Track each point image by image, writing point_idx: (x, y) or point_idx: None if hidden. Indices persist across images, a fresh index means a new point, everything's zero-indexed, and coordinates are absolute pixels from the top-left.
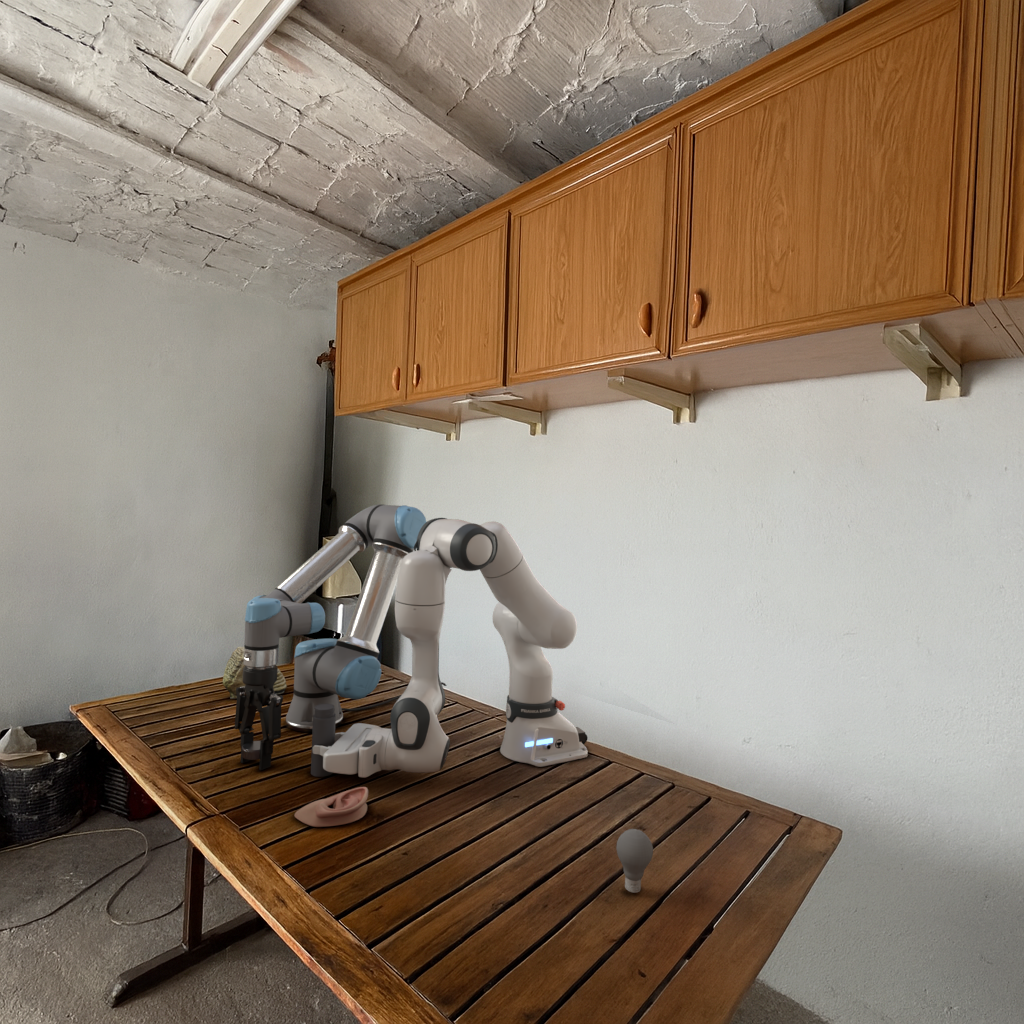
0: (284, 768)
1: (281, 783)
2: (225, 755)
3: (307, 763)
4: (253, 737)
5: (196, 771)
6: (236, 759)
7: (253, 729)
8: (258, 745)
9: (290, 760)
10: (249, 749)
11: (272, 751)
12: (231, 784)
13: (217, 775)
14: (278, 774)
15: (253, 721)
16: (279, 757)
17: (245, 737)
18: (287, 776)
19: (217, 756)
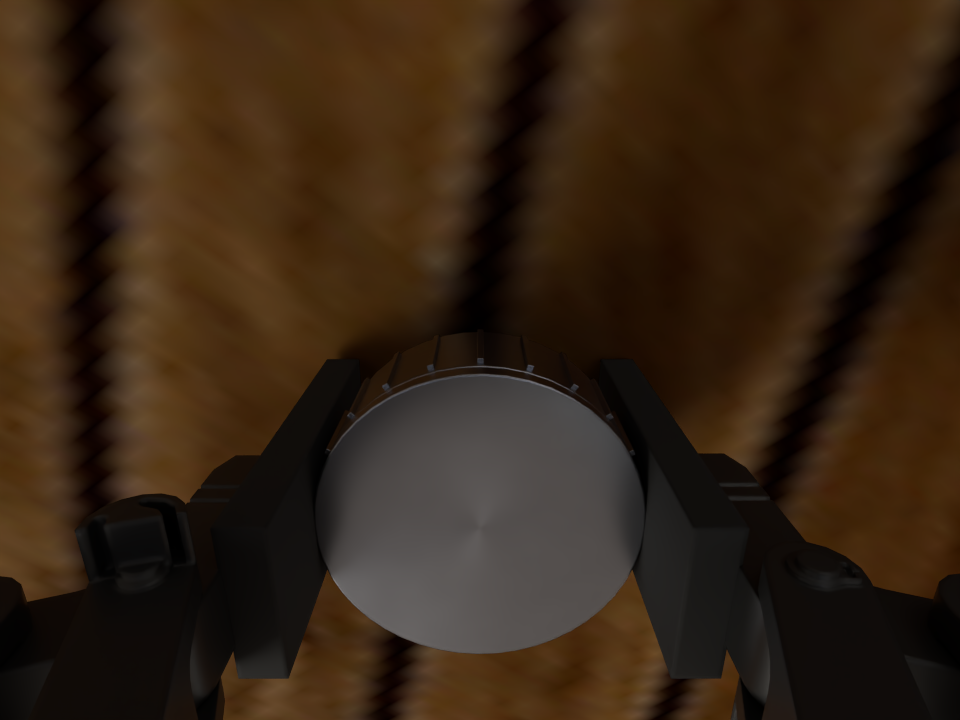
0: (764, 302)
1: (936, 503)
2: (68, 422)
3: (912, 65)
4: (294, 481)
5: (226, 688)
6: (228, 421)
7: (186, 510)
8: (508, 517)
9: (681, 125)
10: (523, 636)
11: (746, 477)
12: (608, 680)
13: (402, 655)
14: (801, 414)
15: (165, 715)
16: (516, 142)
17: (295, 625)
18: (903, 397)
19: (45, 471)
